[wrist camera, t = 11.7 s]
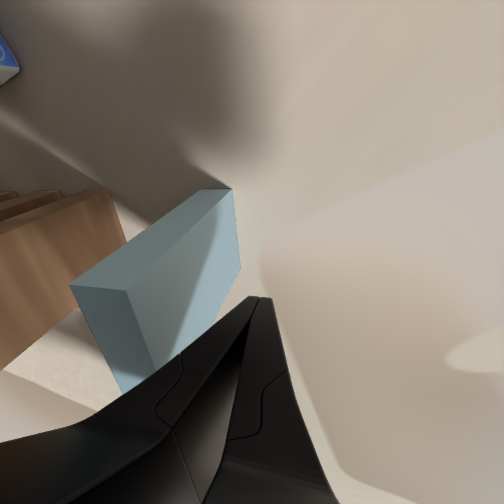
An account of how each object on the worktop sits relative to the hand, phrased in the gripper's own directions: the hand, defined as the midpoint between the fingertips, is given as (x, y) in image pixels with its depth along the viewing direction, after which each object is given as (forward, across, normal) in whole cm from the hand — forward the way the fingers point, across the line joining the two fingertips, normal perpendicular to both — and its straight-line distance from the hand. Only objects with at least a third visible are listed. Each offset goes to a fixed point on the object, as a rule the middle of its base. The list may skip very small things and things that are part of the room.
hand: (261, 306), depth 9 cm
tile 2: (+6, +12, 0) cm, 13 cm away
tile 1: (+6, +4, 0) cm, 7 cm away
